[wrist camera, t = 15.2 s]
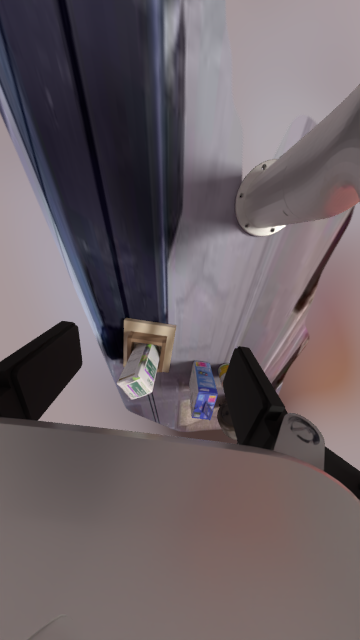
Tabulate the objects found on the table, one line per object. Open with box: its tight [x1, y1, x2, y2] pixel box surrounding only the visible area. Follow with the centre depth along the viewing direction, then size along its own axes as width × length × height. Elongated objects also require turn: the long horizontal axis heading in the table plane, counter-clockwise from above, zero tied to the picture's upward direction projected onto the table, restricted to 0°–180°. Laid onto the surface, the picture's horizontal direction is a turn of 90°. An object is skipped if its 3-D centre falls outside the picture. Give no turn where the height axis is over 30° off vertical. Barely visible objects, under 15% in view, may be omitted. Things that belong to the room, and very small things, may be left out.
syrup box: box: [117, 343, 161, 399], centre depth 42 cm, size 6×6×14 cm
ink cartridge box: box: [189, 361, 218, 420], centre depth 47 cm, size 10×6×14 cm, turn 172°
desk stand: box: [123, 318, 176, 373], centre depth 47 cm, size 14×16×5 cm
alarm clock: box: [217, 401, 238, 444], centre depth 52 cm, size 11×5×16 cm, turn 113°
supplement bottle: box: [218, 363, 229, 390], centre depth 49 cm, size 5×5×10 cm
